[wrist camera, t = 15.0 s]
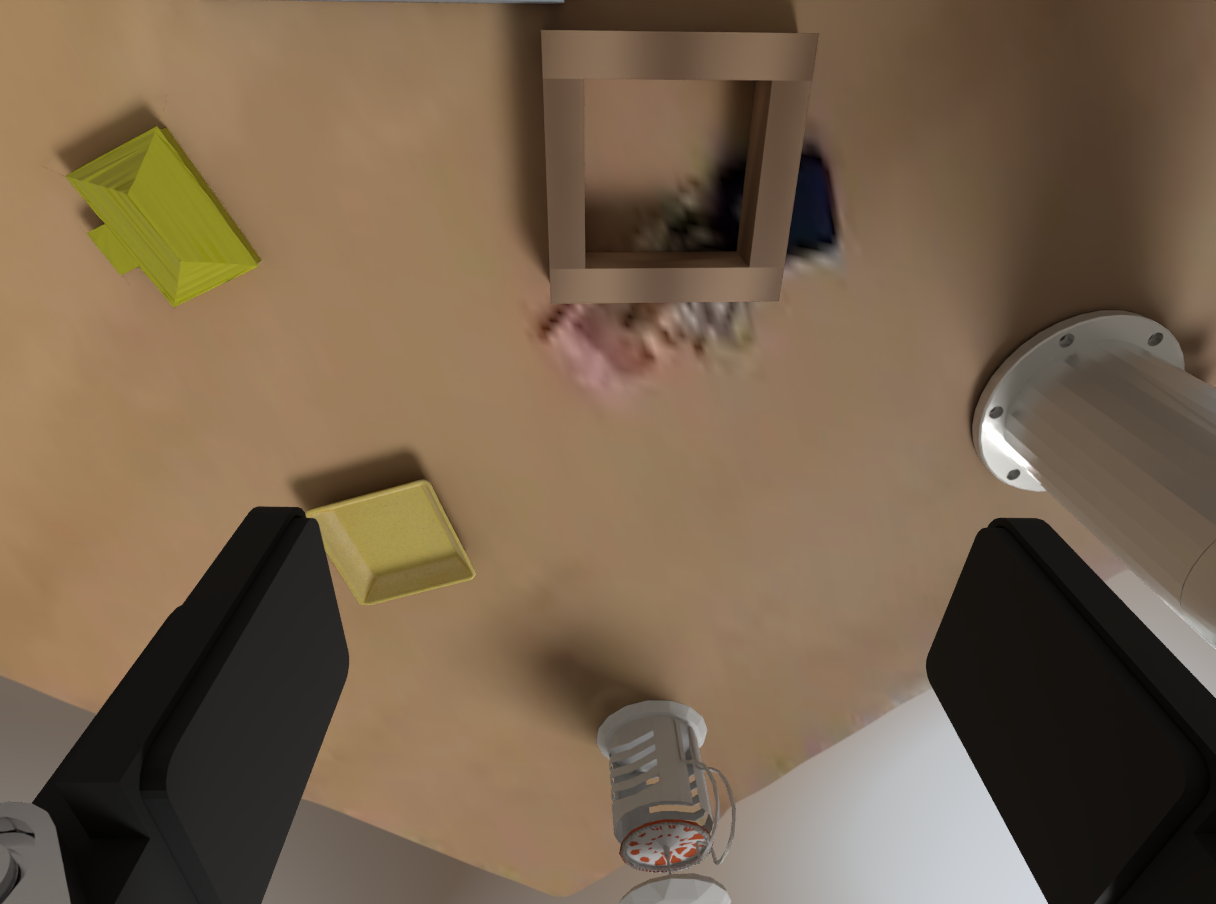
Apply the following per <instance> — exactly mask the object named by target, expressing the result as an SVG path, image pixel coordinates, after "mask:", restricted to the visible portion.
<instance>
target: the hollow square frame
mask: <svg viewBox="0 0 1216 904" xmlns="http://www.w3.org/2000/svg"><path fill="white" fill-rule="evenodd" d="M818 37H819V33H747V32H665V31H583V30H541V45H542V73H543V101H544V129H545V157H546V184H547V212H548V240H549V268H550V296H551V304H561V303H658V302H756V301H779V298H780V291H781V284H782V278H783V271H784V264H785V258H786V251H787V244H788V238H789V231H790V224H791V218H792V211H793V204H794V198H795V191H796V184H797V177H798V171H799V164H800V157H801V151H802V144H803V137H804V131H805V124H806V117H807V111H808V104H809V97H810V91H811V84H812V77H813V71H814V64H815V57H816V51H817V44H818ZM584 79H657V80H755V89H754V98H753V107H752V116H751V125H750V134H749V143H748V152H747V161H746V170H745V179H744V188H743V197H742V206H741V215H740V224H739V233H738V242H737V251H716V252H585V163H584Z"/></svg>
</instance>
